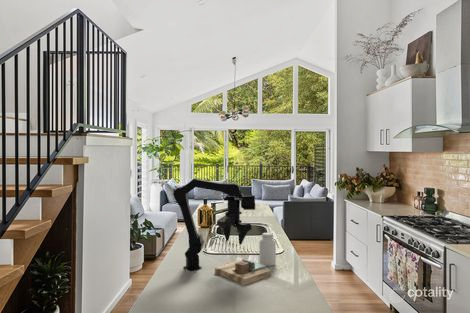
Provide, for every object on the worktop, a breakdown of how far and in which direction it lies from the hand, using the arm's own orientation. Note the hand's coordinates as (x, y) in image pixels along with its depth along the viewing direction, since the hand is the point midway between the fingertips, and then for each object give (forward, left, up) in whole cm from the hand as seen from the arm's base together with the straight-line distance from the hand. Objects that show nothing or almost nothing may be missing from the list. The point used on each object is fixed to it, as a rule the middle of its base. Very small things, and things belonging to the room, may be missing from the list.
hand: (233, 242), depth 172 cm
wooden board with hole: (+8, -2, -12) cm, 15 cm away
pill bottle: (+6, +17, -13) cm, 22 cm away
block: (+10, -4, -13) cm, 16 cm away
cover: (+10, +3, -10) cm, 14 cm away
